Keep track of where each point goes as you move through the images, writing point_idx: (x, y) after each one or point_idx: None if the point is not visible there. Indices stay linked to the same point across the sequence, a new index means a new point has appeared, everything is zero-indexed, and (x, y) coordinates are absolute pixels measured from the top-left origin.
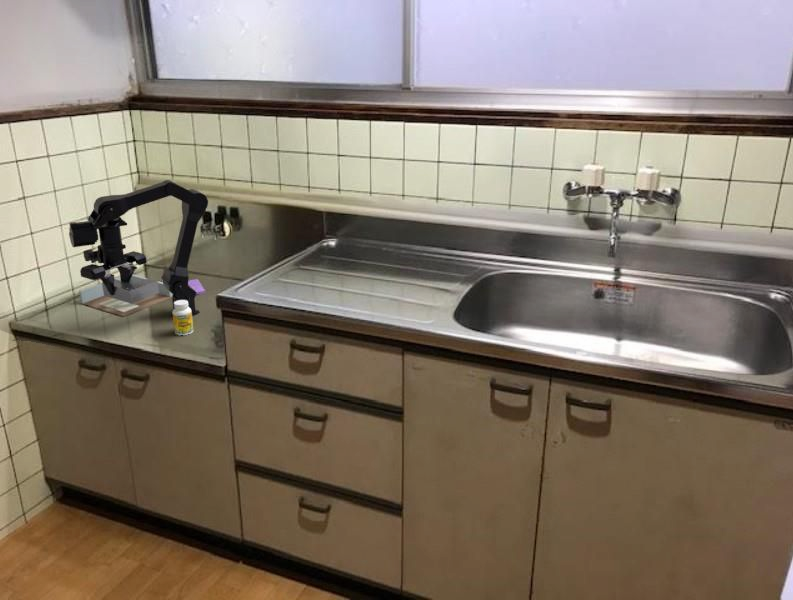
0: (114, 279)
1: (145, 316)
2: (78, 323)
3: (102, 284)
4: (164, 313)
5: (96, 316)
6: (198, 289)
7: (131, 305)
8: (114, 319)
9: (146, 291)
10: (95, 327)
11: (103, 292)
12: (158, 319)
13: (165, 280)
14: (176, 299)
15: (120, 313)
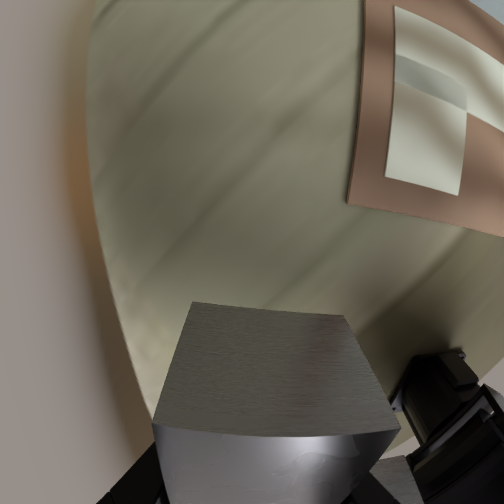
0: (373, 453)
1: (384, 289)
2: (182, 60)
3: (160, 401)
4: (424, 328)
5: (294, 69)
6: None
7: (451, 157)
8: (305, 181)
9: None
10: (181, 172)
11: (187, 318)
12: (370, 351)
13: (453, 490)
14: (427, 431)
15: (367, 168)
